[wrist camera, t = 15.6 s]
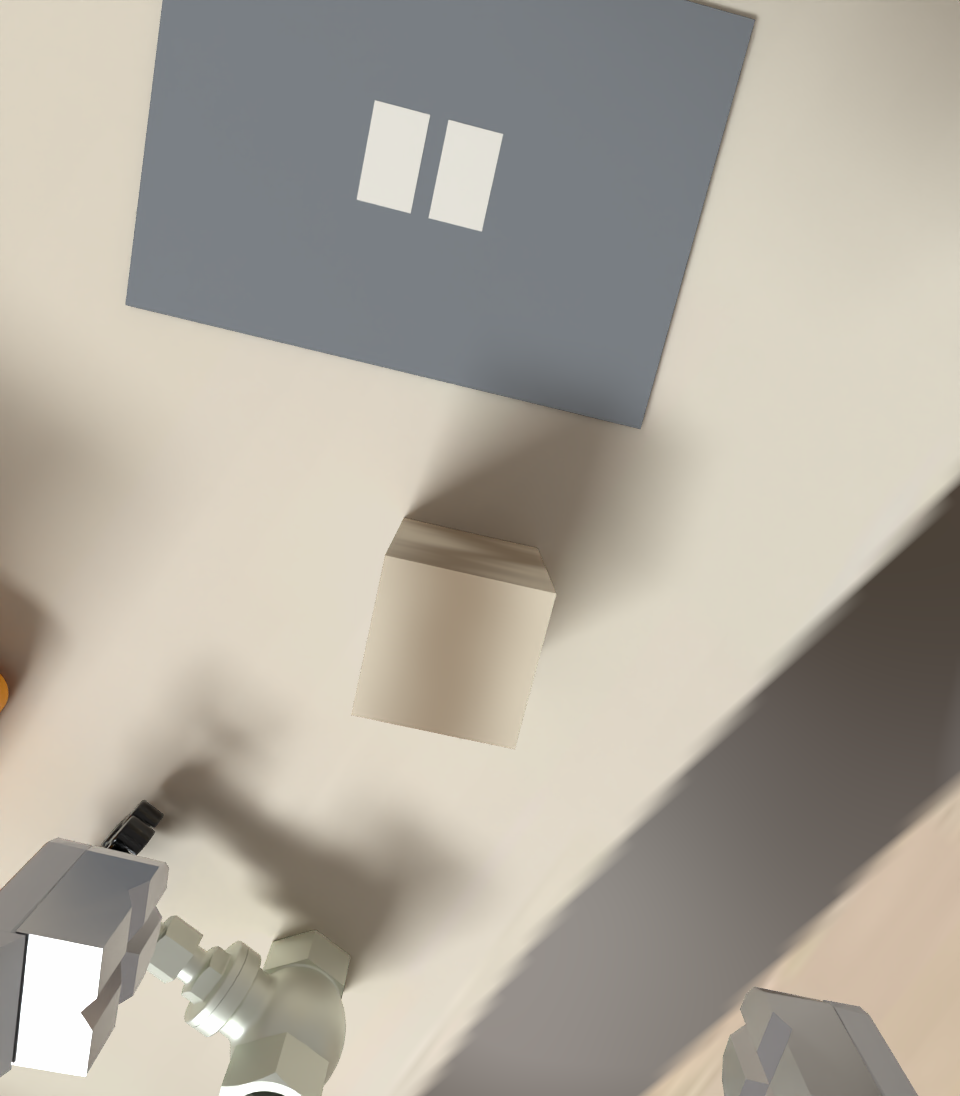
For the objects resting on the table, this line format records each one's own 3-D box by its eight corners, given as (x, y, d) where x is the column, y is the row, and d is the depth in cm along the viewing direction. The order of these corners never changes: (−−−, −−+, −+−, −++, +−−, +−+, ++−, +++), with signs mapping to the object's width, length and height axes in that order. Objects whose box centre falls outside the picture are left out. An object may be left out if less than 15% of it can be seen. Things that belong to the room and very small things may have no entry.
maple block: (537, 548, 26) (556, 593, 21) (505, 671, 27) (514, 749, 22) (404, 517, 26) (385, 555, 20) (376, 644, 27) (351, 715, 21)
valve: (397, 944, 30) (169, 768, 28) (378, 1096, 24) (80, 881, 22) (296, 1041, 31) (68, 877, 29) (250, 1211, 25) (-45, 1015, 23)
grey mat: (752, 22, 23) (755, 19, 22) (638, 428, 25) (640, 428, 25) (182, -138, 22) (180, -143, 21) (128, 305, 24) (125, 304, 24)
